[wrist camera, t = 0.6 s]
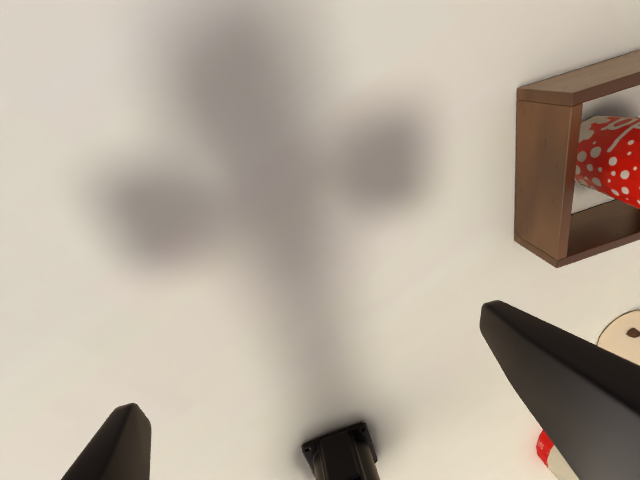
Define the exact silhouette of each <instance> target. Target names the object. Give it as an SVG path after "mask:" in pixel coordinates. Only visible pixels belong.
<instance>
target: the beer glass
mask: <svg viewBox="0 0 640 480" xmlns="http://www.w3.org/2000/svg"><path fill="white" fill-rule="evenodd" d="M598 346H599V347H601V348H603V349H605V350H607V351H610V352H612V353H614V354H616V355H618V356H620V357H622V358H625V359H627V360H629V361H631V362H633V363H635V364H637V365H640V310H639V311H632V312H629V313H627V314H624V315H622V316H621V317H619V318H617V319H616V320H615V321H613V322H612V323H611V324H610V325H609V326H608V327H607V328H606V329H605V330H604V332H603V333H602V335H601V336H600V338H599V341H598Z"/></svg>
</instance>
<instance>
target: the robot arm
mask: <svg viewBox="0 0 640 480" xmlns="http://www.w3.org/2000/svg"><path fill="white" fill-rule="evenodd" d="M480 330H481V333H482V335H483V337H484V338H485V340H486V342H487V344H488V345H489V347H490V349H491V351H492V352H493V354H494V356H495V358H496V359H497V361H498V363H499V364H500V366H501V368H502V370H503V371H504V373H505V375H506V377H507V378H508V380H509V382H510V383H511V385H512V386H513V388H514V389H515V391H516V392H517V394H518V395H519V397H520V398H521V399H522V401H523V402H524V404H525V405H526V406H527V408H528V409H529V410H530V412H531V413H532V415H533V416H534V417H535V419H536V420H537V422H538V423H539V424H540V426H541V427H542V429H543V430H544V431H545V433H546V434H547V435H548V437H549V438H550V440H551V441H552V442H553V444H554V445H555V447H556V448H557V449H558V451H559V452H560V454H561V455H562V456H563V458H564V459H565V461H566V462H567V463H568V465H569V466H570V467H571V469H572V470H573V472H574V473H575V474H576V476H577V477H578V479H579V480H640V365H637V364H635V363H633V362H631V361H629V360H627V359H625V358H622V357H620V356H618V355H616V354H614V353H612V352H610V351H607V350H605V349H603V348H601V347H599V346H597V345H595V344H592V343H590V342H588V341H586V340H584V339H582V338H580V337H577V336H575V335H573V334H571V333H569V332H567V331H564V330H562V329H560V328H558V327H556V326H554V325H552V324H549V323H547V322H545V321H543V320H541V319H539V318H537V317H534V316H532V315H530V314H528V313H526V312H524V311H522V310H519V309H517V308H515V307H513V306H511V305H509V304H507V303H504V302H502V301H499V300H495V301H491V302H488V303H485V304H483V306H482V309H481V317H480ZM150 452H151V424H150V421H149V419H148V418H147V417H146V416H145V414H144V413H143V412H142V410H141V409H140V408H139V406H138V405H137V404H135V403H130V404H126V405H123V406H119V407H117V408H116V409H115V410H114V411H113V412H112V413H111V414H110V416H109V417H108V418H107V420H106V421H105V422H104V424H103V425H102V426H101V428H100V429H99V430H98V431H97V433H96V434H95V435H94V437H93V438H92V439H91V441H90V442H89V443H88V445H87V446H86V447H85V449H84V450H83V451H82V453H81V454H80V455H79V456H78V458H77V459H76V460H75V462H74V463H73V464H72V466H71V467H70V468H69V470H68V471H67V472H66V474H65V475H64V476H63V478H62V479H61V480H149V477H150ZM302 452H303V454H304V456H305V458H306V460H307V462H308V464H309V466H310V468H311V470H312V472H313V474H314V476H315V478H316V480H380V478H379V475H378V472H377V469H376V466H375V463H376V462H377V456H376V453H375V450H374V447H373V444H372V441H371V437H370V434H369V431H368V428H367V425H366V423H359V424H356V425H354V426H351V427H348V428H345V429H342V430H340V431H337V432H334V433H331V434H329V435H326V436H323V437H320V438H318V439H315V440H312V441H309V442H307V443H304V444H303V445H302Z"/></svg>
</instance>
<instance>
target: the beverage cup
mask: <svg viewBox="0 0 640 480" xmlns="http://www.w3.org/2000/svg"><path fill="white" fill-rule="evenodd" d="M575 181H576V182H578V183H580V184H583V185H585V186H587V187H590V188H592V189H594V190H597V191H599V192H601V193H604V194H606V195H608V196H611V197H613V198H615V199H617V200H620V201H622V202H624V203H627V204H629V205H631V206H634V207H636V208H638V209H640V118H631V117H616V116H594V117H592V118H590V119H587V120H585V121H583V122H582V123H581V125H580V135H579V144H578V154H577V163H576V173H575Z"/></svg>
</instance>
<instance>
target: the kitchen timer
mask: <svg viewBox="0 0 640 480" xmlns="http://www.w3.org/2000/svg"><path fill="white" fill-rule="evenodd" d="M537 453H538V456H539V457H540V458H541V460H542V461H543V462H544V464H545V465H546V466H547V468H548V469H549V470H550V471H551V472H552V473H553V474H554V475H555V477H556V478H557V479H558V480H579V479H578V477H577V476H576V474H575V473H574V472H573V470H572V469H571V467H570V466H569V465H568V463H567V462H566V461H565V459H564V458H563V456H562V455H561V454H560V452H559V451H558V449H557V448H556V447H555V445H554V444H553V442H552V441H551V440H550V438H549V437H548V435H547V434H546V433H545V431H544V430H543V432H542V433H541V435H540V437H539V440H538V443H537Z"/></svg>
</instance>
